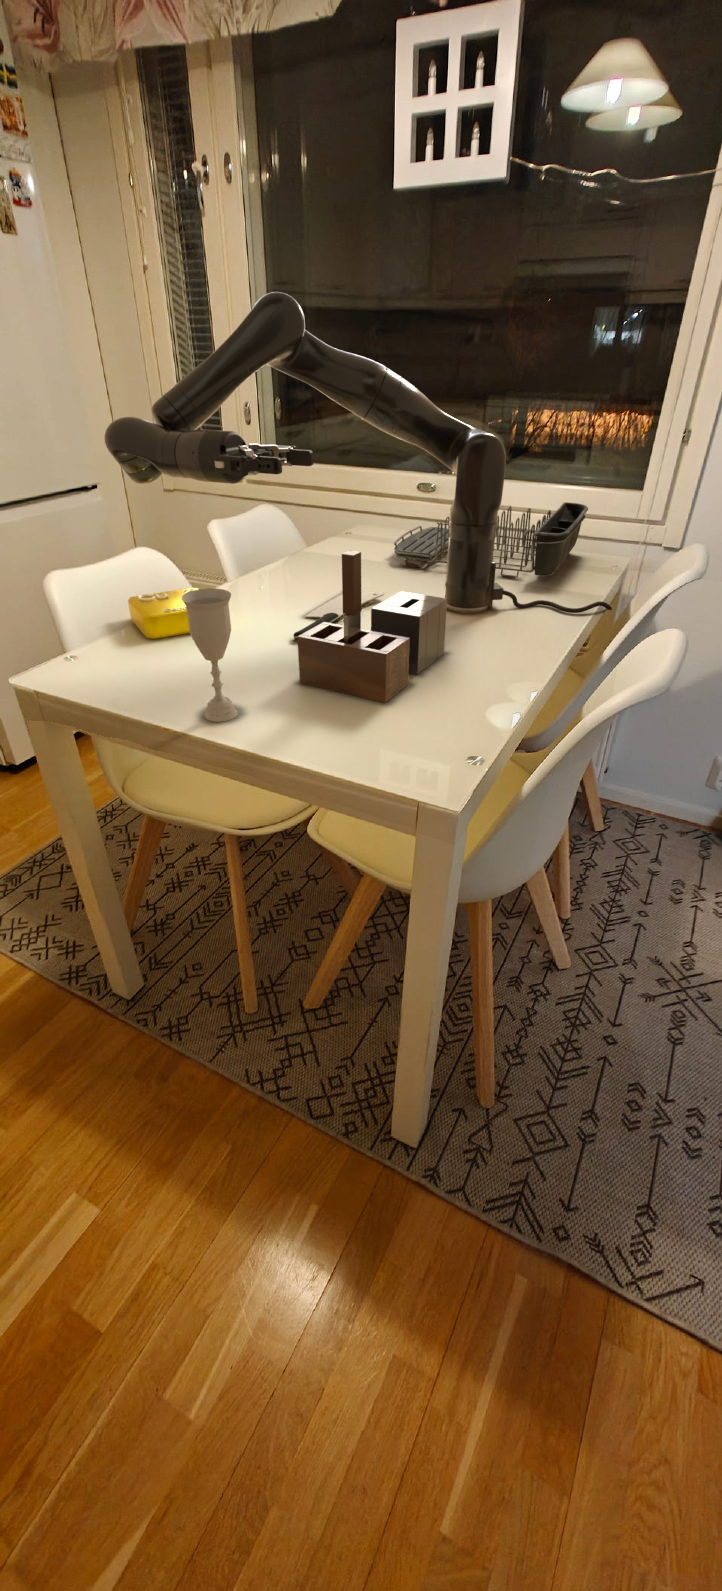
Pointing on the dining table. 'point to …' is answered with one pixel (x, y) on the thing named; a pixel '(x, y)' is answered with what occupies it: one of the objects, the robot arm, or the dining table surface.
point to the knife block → (414, 625)
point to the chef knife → (351, 595)
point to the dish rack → (549, 544)
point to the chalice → (211, 641)
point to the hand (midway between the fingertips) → (296, 462)
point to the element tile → (160, 613)
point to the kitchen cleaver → (333, 610)
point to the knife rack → (354, 662)
